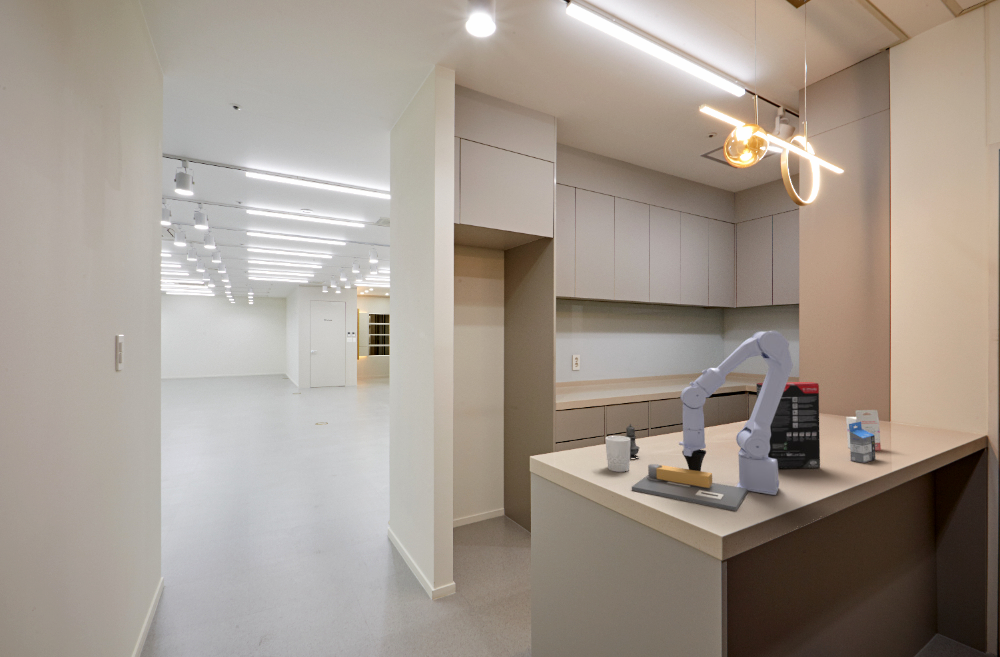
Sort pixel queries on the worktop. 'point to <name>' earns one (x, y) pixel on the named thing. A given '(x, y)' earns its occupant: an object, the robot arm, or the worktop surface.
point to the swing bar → (680, 475)
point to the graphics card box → (796, 426)
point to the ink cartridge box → (866, 425)
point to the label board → (694, 492)
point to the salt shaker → (632, 441)
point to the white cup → (618, 453)
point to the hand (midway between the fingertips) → (695, 475)
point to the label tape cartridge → (861, 444)
